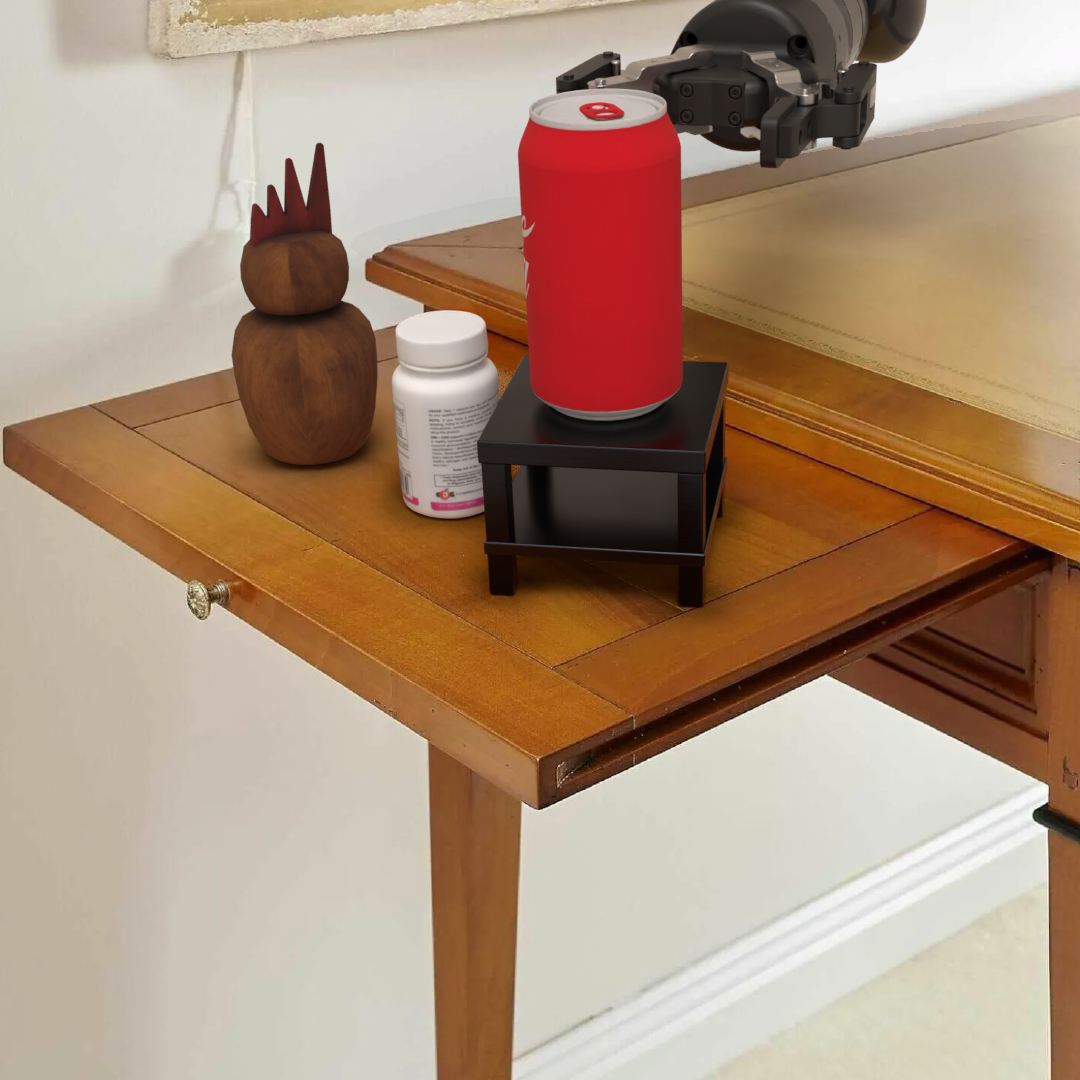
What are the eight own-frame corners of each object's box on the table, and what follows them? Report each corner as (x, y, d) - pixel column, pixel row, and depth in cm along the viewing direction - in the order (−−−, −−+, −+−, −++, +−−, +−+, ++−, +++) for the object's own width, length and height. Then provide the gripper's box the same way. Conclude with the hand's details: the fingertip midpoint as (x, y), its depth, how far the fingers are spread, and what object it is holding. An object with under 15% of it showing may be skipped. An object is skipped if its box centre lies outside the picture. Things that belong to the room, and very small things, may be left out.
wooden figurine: (386, 423, 83) (358, 128, 76) (384, 473, 78) (353, 162, 71) (252, 432, 83) (211, 137, 75) (241, 482, 78) (196, 171, 70)
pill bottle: (524, 484, 76) (514, 314, 72) (473, 529, 72) (460, 352, 68) (436, 467, 78) (422, 300, 74) (383, 510, 74) (365, 336, 70)
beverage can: (655, 360, 70) (651, 78, 64) (704, 416, 65) (705, 114, 59) (514, 380, 69) (498, 94, 63) (552, 439, 64) (538, 133, 58)
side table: (727, 506, 73) (728, 361, 70) (704, 609, 65) (705, 451, 62) (531, 496, 75) (523, 354, 72) (486, 595, 67) (476, 441, 64)
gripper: (631, -23, 84) (512, 44, 70) (911, -18, 79) (840, 56, 66) (633, 123, 87) (521, 213, 74) (901, 137, 82) (832, 236, 69)
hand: (671, 139), depth 70 cm, fingers open, 8 cm apart
